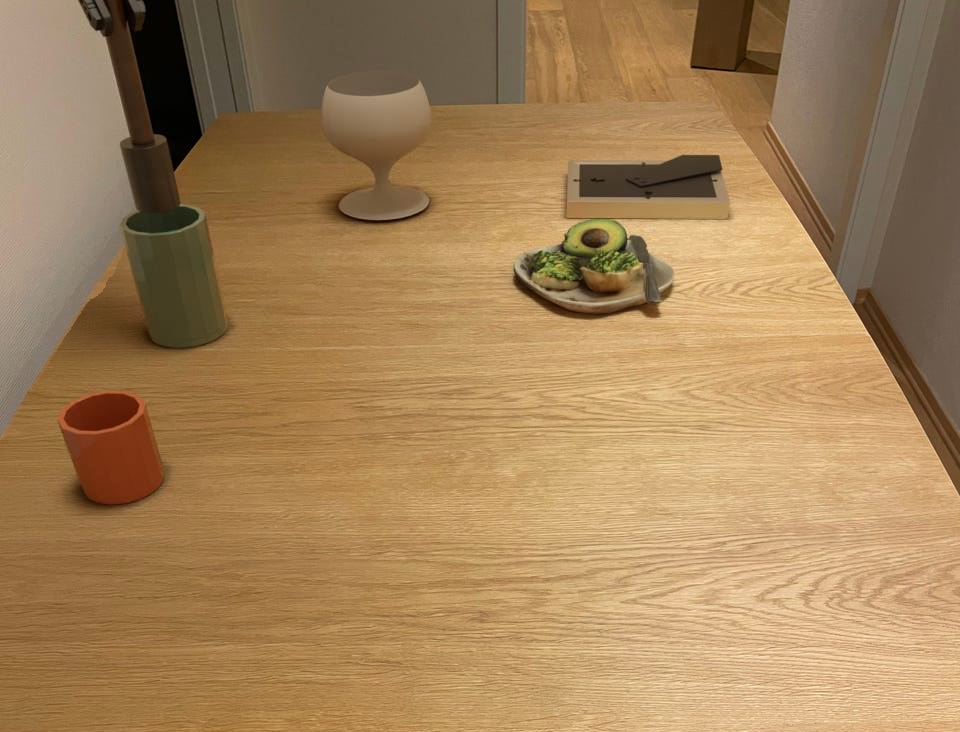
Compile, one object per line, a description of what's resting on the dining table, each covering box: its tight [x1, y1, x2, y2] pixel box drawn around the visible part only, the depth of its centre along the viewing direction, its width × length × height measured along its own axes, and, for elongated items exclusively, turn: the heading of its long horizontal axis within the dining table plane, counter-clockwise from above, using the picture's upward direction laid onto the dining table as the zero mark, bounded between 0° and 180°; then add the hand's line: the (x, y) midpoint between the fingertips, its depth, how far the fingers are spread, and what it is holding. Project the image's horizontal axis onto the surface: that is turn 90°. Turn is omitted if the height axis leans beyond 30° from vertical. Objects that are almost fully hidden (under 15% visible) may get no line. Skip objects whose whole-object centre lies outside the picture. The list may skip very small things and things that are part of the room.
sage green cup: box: [119, 203, 229, 349], centre depth 106 cm, size 8×8×12 cm
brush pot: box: [57, 389, 165, 505], centre depth 87 cm, size 7×7×7 cm
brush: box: [103, 0, 182, 213], centre depth 94 cm, size 4×4×20 cm
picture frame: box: [565, 154, 731, 220], centre depth 135 cm, size 16×3×21 cm
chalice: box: [321, 69, 432, 221], centre depth 131 cm, size 14×14×15 cm
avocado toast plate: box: [512, 218, 676, 315], centre depth 114 cm, size 19×18×5 cm
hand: (123, 26), depth 88 cm, fingers closed on brush, 2 cm apart
